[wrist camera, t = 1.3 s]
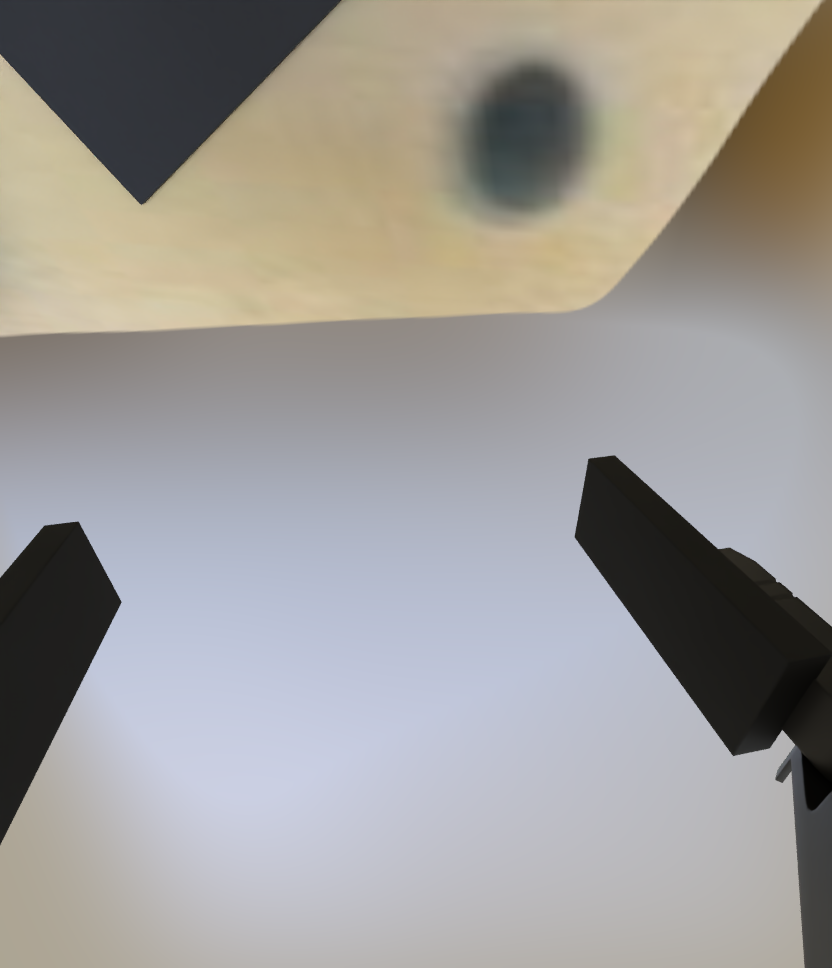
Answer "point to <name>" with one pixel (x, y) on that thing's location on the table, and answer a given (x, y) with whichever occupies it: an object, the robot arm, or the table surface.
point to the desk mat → (150, 70)
